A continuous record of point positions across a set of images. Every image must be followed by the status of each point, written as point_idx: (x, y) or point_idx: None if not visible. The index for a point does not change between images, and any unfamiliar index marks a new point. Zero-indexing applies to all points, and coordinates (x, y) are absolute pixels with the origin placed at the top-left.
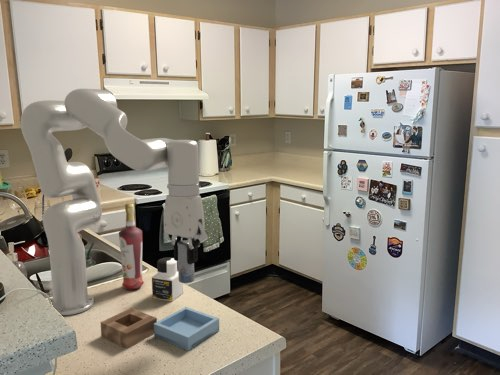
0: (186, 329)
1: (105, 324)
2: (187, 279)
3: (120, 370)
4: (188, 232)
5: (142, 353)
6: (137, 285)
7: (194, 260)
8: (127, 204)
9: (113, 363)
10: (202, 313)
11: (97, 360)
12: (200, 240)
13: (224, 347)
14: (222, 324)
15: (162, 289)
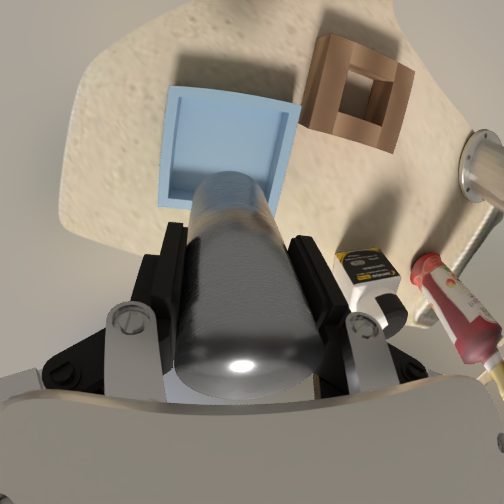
0: (227, 149)
1: (401, 64)
2: (202, 186)
3: None
4: (31, 475)
5: (271, 32)
6: (417, 265)
7: (145, 256)
8: None
9: None
10: None
11: None
12: (27, 384)
13: (112, 141)
14: (174, 220)
15: (366, 264)
